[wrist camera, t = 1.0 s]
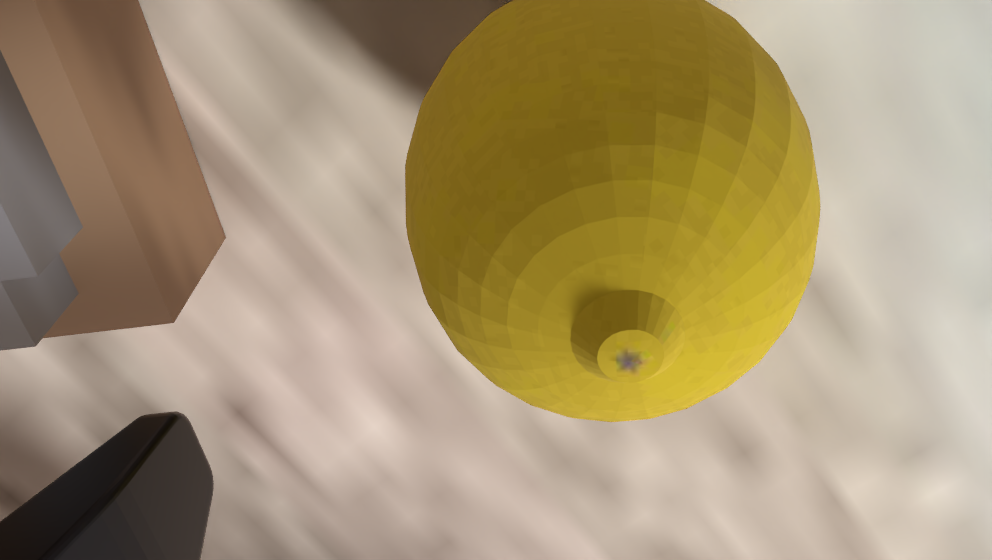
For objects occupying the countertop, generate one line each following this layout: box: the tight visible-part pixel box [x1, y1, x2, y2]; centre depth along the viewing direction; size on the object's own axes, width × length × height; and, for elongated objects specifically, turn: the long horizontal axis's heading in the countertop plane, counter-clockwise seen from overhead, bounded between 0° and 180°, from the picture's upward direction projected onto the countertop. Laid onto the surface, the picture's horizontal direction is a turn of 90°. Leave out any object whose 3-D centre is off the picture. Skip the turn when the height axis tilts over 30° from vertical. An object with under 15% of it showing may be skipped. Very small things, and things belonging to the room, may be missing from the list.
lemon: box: [405, 0, 820, 422], centre depth 12 cm, size 6×6×8 cm
